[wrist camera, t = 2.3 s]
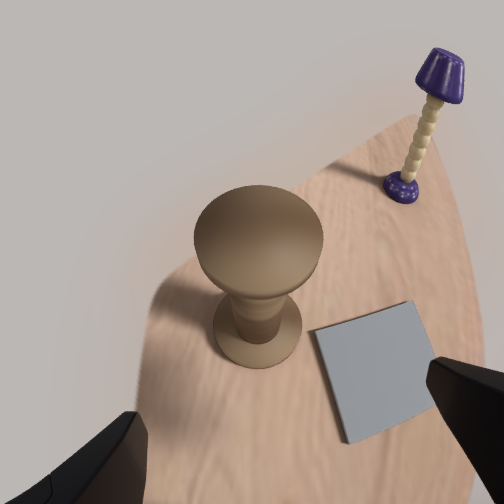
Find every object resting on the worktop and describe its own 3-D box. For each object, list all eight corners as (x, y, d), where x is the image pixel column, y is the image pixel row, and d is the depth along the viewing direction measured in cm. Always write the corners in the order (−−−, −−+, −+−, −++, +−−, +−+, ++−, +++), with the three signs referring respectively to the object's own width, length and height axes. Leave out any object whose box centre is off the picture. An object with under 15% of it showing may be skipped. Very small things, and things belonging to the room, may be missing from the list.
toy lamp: (372, 180, 31) (415, 40, 17) (397, 168, 32) (440, 43, 18) (402, 209, 28) (464, 68, 14) (425, 195, 30) (482, 69, 15)
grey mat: (445, 397, 18) (448, 397, 18) (347, 444, 17) (349, 444, 17) (410, 302, 23) (412, 300, 22) (314, 333, 22) (315, 331, 21)
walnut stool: (310, 356, 21) (362, 283, 11) (224, 377, 20) (189, 323, 10) (286, 281, 24) (306, 167, 14) (208, 298, 23) (173, 190, 13)
